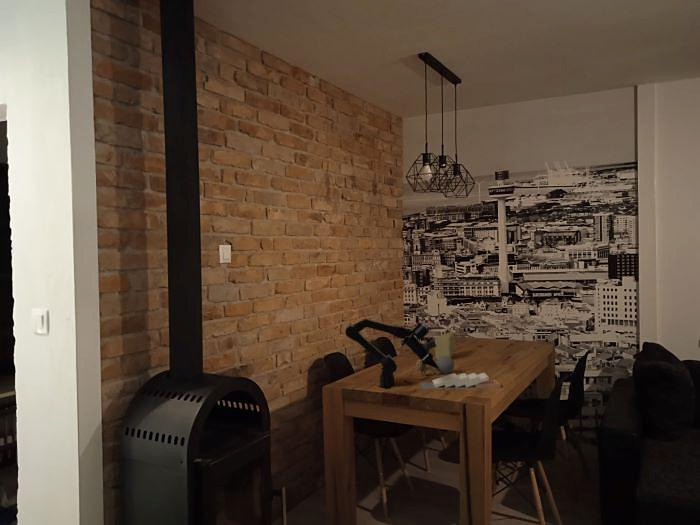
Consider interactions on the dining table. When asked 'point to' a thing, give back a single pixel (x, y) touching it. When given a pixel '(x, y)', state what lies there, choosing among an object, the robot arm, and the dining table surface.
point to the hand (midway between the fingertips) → (437, 367)
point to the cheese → (445, 345)
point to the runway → (431, 386)
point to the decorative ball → (445, 364)
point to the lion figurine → (425, 368)
